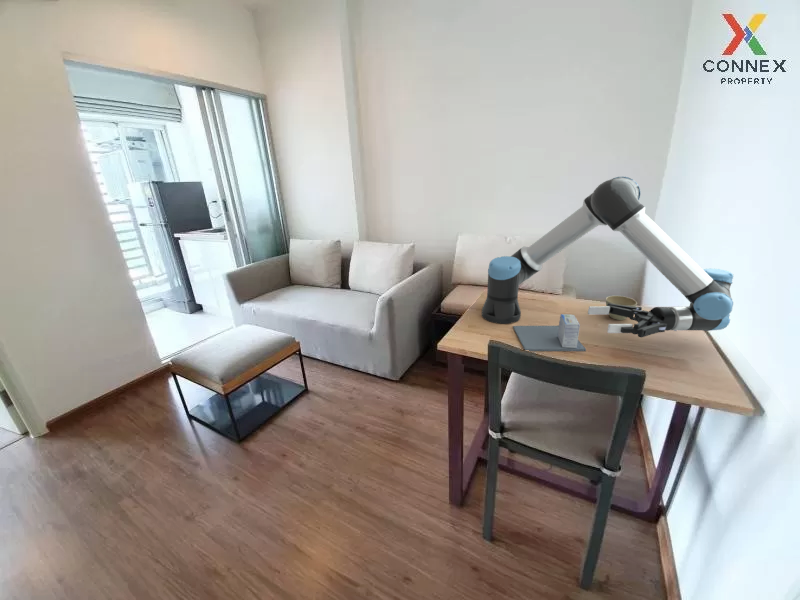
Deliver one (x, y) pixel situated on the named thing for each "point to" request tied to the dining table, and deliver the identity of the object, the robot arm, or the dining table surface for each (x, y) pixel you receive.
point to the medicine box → (568, 331)
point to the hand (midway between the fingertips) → (597, 319)
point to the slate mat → (542, 339)
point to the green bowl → (620, 301)
